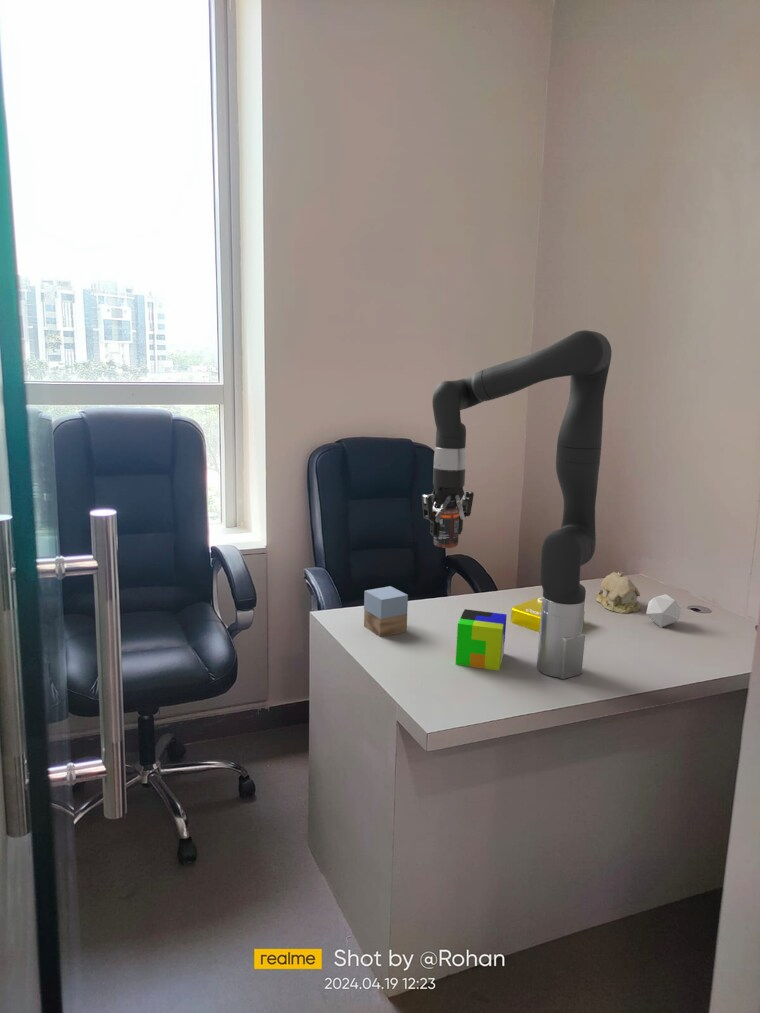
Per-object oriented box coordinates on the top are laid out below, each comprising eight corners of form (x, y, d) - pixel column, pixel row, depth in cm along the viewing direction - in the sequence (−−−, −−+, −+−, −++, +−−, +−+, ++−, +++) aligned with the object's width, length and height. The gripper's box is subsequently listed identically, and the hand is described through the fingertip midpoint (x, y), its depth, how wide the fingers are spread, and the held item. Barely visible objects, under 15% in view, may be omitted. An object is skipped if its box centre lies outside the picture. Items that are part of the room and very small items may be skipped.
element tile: (507, 622, 194) (508, 605, 193) (538, 610, 205) (539, 594, 204) (556, 639, 184) (557, 621, 183) (586, 625, 194) (587, 608, 193)
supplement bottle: (457, 543, 177) (460, 497, 175) (458, 549, 171) (460, 502, 169) (433, 541, 178) (435, 496, 175) (432, 548, 172) (434, 501, 170)
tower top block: (407, 613, 184) (408, 595, 183) (380, 619, 180) (381, 599, 179) (389, 604, 191) (390, 586, 190) (363, 609, 186) (364, 590, 185)
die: (684, 632, 192) (689, 599, 196) (663, 620, 188) (669, 586, 192) (657, 633, 199) (663, 601, 202) (637, 622, 195) (643, 589, 199)
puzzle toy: (503, 653, 173) (506, 614, 171) (499, 670, 164) (502, 629, 162) (462, 648, 176) (464, 609, 174) (455, 664, 167) (457, 623, 164)
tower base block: (406, 632, 185) (407, 613, 184) (379, 637, 181) (380, 618, 180) (389, 621, 192) (390, 603, 191) (363, 626, 188) (364, 608, 187)
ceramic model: (649, 611, 206) (652, 578, 204) (616, 615, 202) (620, 581, 200) (616, 595, 219) (620, 564, 217) (585, 599, 215) (589, 566, 213)
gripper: (433, 470, 164) (430, 542, 167) (483, 466, 171) (479, 535, 175) (415, 465, 170) (412, 535, 173) (463, 462, 177) (460, 529, 181)
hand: (446, 535), depth 174 cm, fingers closed on supplement bottle, 6 cm apart
